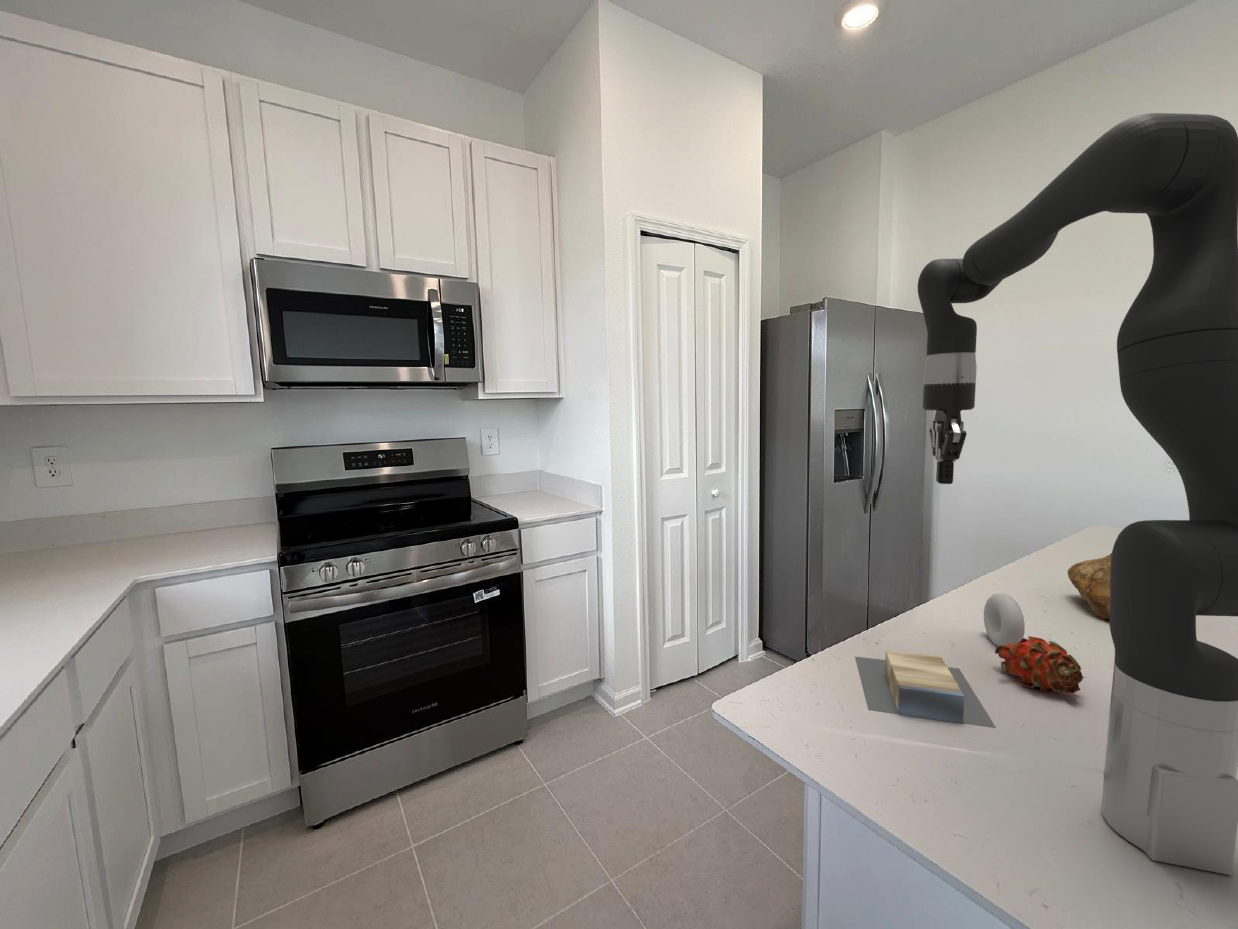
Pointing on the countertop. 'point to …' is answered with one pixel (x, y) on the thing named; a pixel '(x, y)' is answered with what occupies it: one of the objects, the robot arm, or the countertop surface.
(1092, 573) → the rough brown rock
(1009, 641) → the donut
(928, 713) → the maple block
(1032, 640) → the dragon fruit
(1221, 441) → the robot arm
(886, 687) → the rubber mat
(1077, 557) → the countertop surface
